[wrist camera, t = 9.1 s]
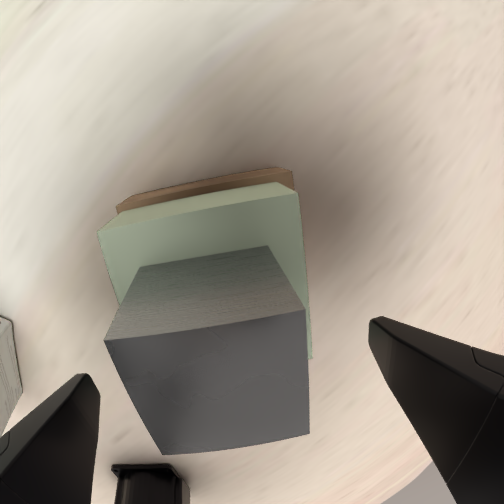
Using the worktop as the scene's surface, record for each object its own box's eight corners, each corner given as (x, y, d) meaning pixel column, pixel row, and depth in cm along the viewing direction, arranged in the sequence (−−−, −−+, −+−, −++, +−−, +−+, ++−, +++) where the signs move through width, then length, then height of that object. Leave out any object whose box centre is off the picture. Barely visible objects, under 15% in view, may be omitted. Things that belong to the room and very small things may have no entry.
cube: (170, 367, 12) (162, 455, 8) (139, 266, 10) (103, 340, 6) (279, 349, 12) (309, 433, 8) (267, 245, 11) (305, 309, 7)
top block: (161, 342, 15) (152, 386, 12) (122, 211, 13) (96, 232, 10) (292, 317, 16) (312, 358, 13) (276, 181, 14) (298, 192, 10)
